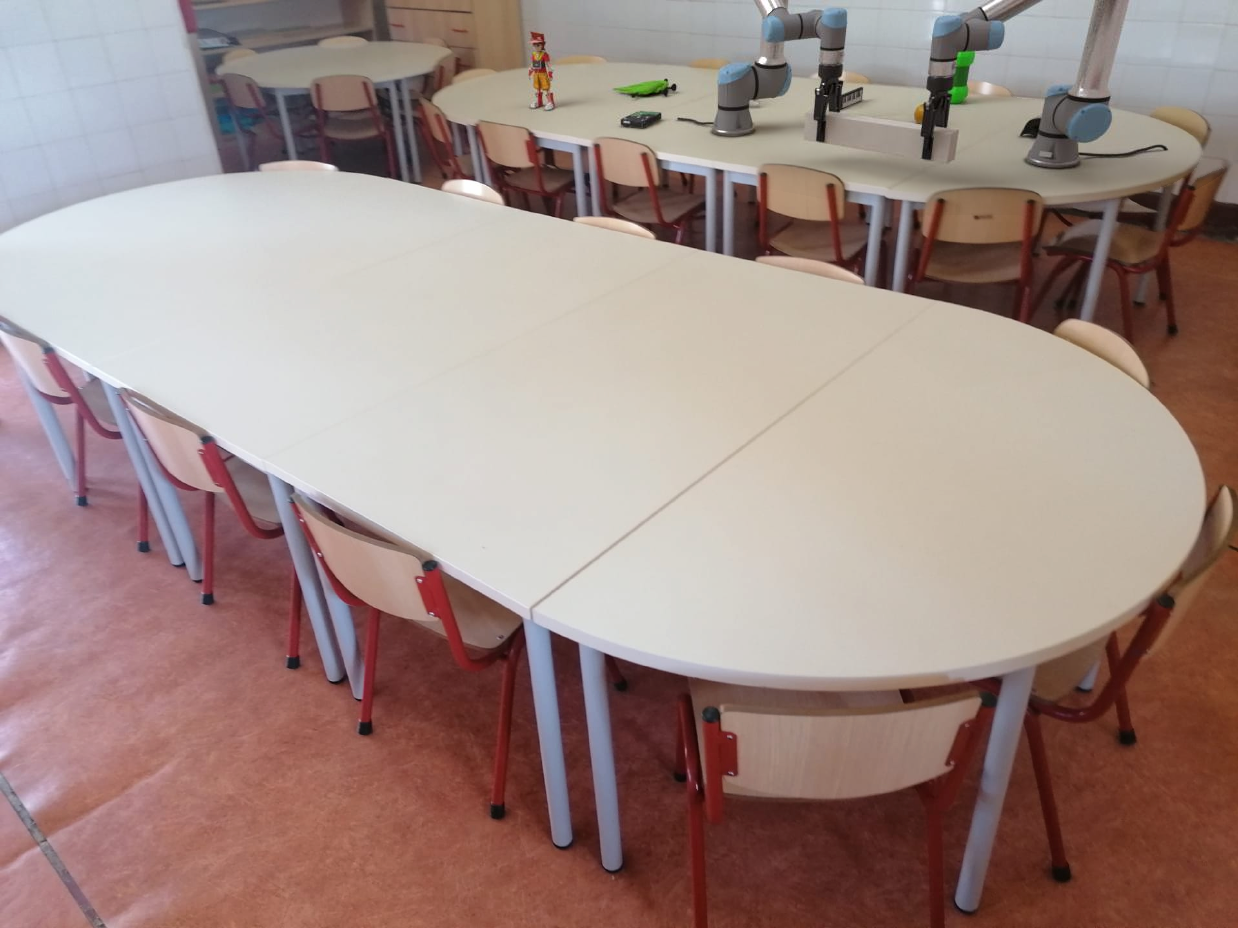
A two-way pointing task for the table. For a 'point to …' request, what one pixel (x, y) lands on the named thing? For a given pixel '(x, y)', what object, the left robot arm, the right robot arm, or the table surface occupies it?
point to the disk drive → (641, 119)
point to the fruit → (919, 114)
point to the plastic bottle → (961, 76)
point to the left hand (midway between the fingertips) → (825, 139)
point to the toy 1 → (541, 71)
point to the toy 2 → (648, 88)
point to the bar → (882, 136)
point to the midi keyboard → (851, 97)
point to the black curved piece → (1032, 126)
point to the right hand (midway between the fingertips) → (930, 156)
